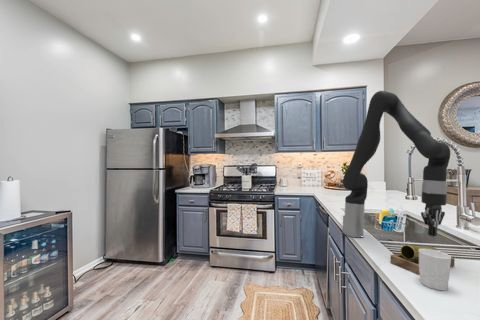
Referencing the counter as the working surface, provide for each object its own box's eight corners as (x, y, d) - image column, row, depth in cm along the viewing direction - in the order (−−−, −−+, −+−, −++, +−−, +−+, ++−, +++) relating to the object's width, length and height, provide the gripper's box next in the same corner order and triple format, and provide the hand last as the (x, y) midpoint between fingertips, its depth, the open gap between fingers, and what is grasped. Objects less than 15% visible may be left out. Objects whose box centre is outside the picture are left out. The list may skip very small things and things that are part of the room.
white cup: (411, 277, 76) (412, 247, 76) (435, 279, 76) (436, 249, 76) (430, 291, 68) (431, 257, 68) (457, 292, 68) (458, 259, 68)
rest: (390, 262, 87) (390, 255, 87) (421, 255, 96) (422, 248, 96) (422, 276, 78) (422, 267, 78) (454, 266, 86) (454, 258, 87)
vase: (444, 255, 86) (420, 253, 81) (432, 266, 89) (408, 264, 84) (429, 242, 91) (406, 240, 86) (419, 252, 94) (395, 250, 89)
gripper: (431, 190, 96) (430, 231, 96) (413, 190, 91) (412, 234, 90) (454, 193, 89) (452, 237, 89) (436, 193, 84) (434, 240, 84)
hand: (432, 235), depth 90 cm, fingers closed
